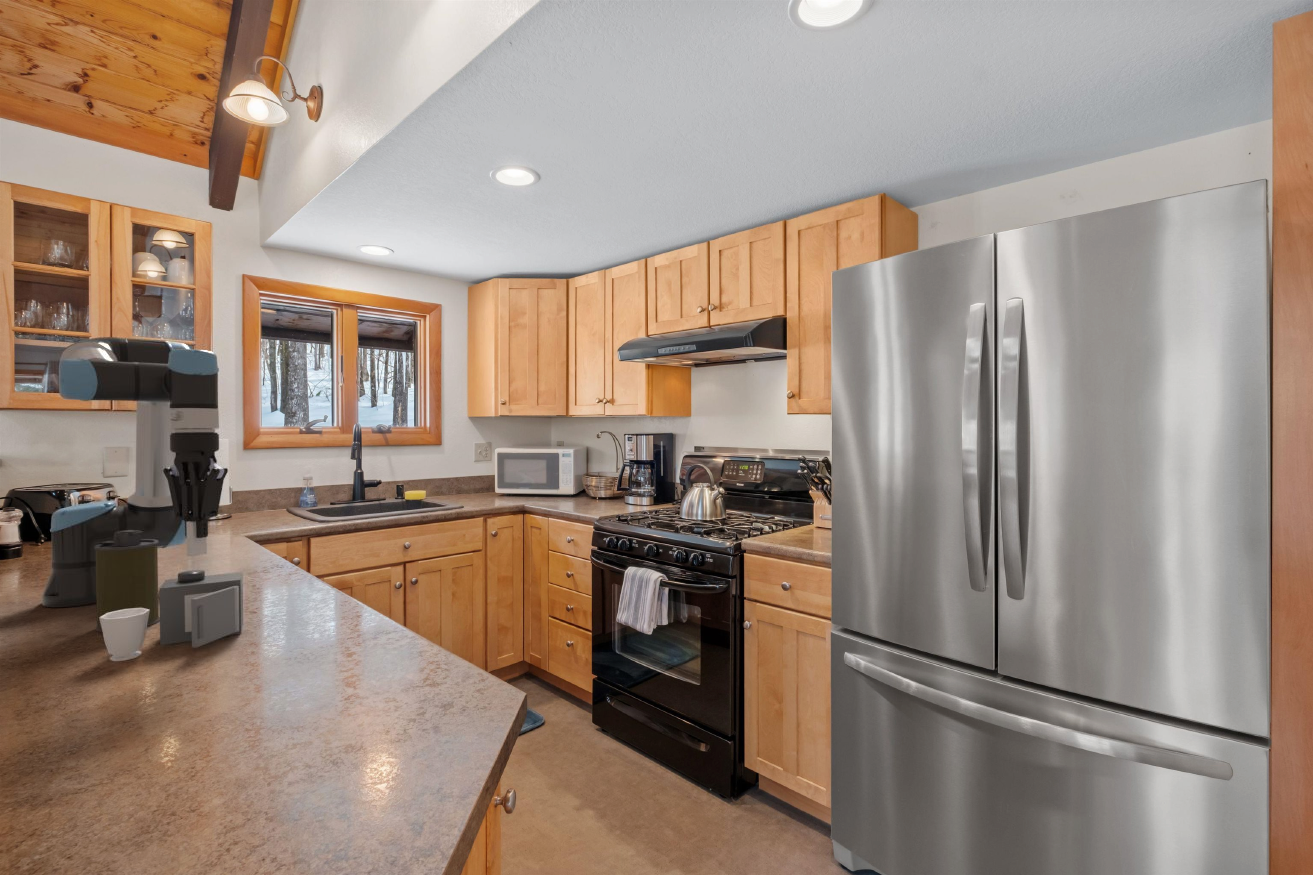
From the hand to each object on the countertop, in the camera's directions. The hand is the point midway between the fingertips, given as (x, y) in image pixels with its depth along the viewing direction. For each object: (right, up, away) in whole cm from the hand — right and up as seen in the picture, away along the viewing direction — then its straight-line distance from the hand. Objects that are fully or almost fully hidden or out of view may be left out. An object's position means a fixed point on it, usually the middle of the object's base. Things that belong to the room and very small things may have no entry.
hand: (196, 554), depth 119 cm
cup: (-10, -18, -4) cm, 21 cm away
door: (+3, -17, +2) cm, 17 cm away
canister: (-25, -18, +13) cm, 33 cm away
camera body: (-4, -18, +8) cm, 20 cm away
